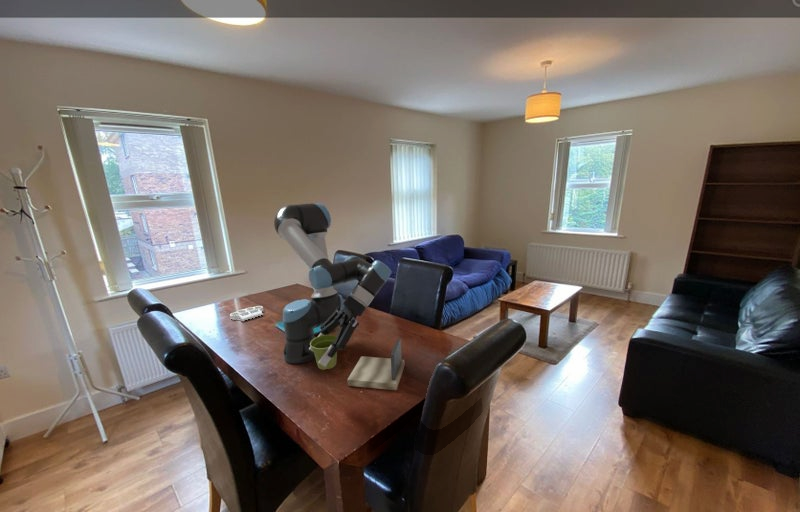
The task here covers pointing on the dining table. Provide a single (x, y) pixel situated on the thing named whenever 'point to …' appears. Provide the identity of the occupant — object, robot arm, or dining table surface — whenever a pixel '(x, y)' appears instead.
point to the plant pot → (323, 349)
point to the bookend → (396, 359)
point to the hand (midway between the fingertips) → (316, 357)
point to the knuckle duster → (247, 313)
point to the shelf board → (375, 373)
